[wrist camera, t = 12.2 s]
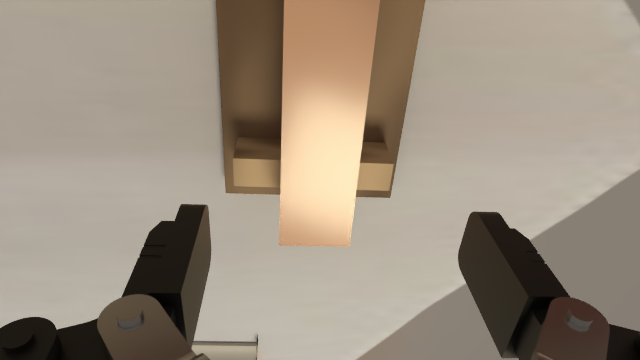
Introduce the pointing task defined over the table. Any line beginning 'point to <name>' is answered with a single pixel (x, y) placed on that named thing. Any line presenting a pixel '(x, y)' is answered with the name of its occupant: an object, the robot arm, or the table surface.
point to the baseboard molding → (226, 350)
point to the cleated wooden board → (266, 93)
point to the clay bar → (323, 116)
